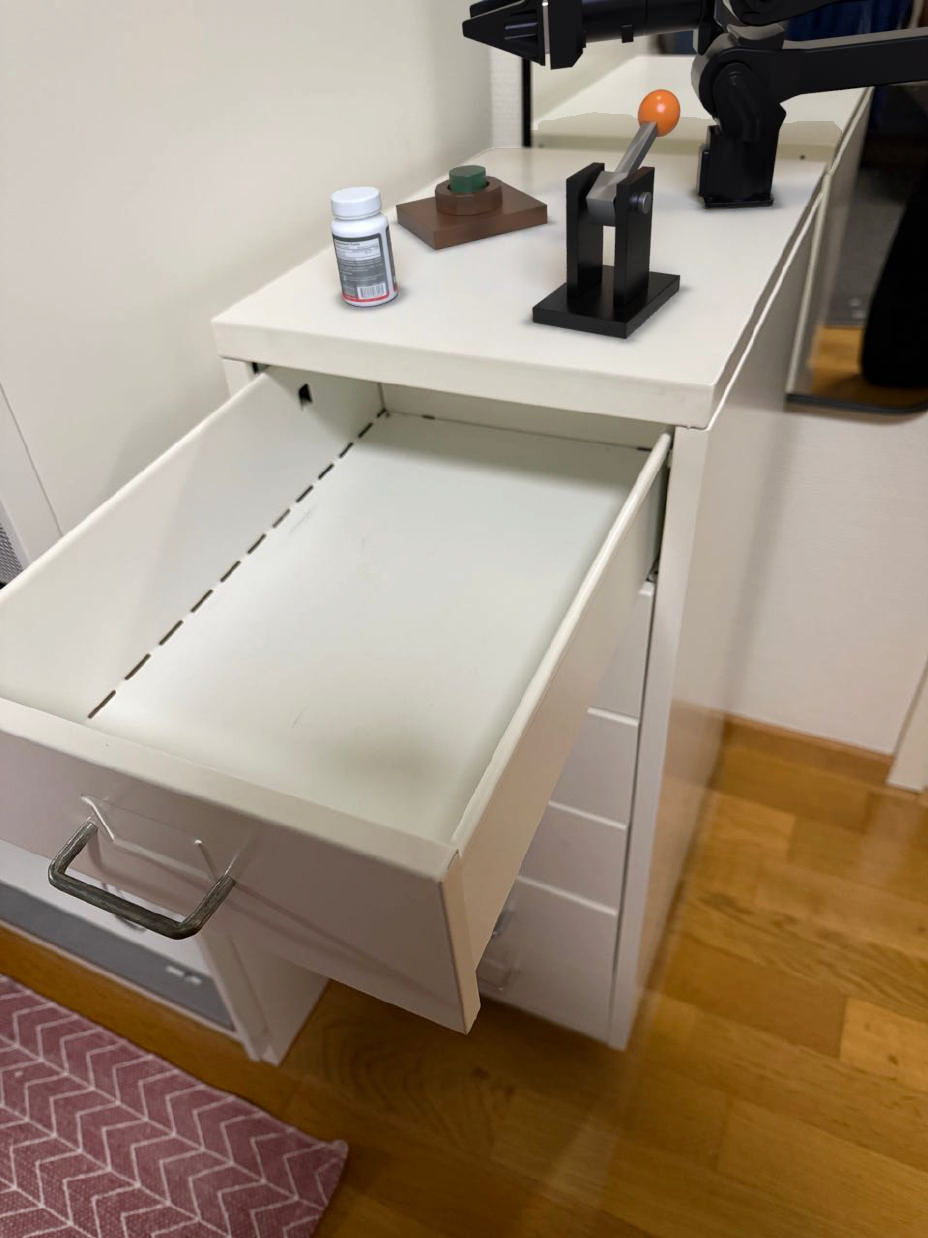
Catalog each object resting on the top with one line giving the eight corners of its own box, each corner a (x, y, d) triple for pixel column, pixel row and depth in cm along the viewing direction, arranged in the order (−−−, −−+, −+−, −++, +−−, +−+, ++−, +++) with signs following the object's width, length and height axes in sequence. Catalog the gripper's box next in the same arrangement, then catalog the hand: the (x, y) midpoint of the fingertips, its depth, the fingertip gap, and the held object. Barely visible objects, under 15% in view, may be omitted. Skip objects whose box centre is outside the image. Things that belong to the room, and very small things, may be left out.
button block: (502, 197, 93) (500, 161, 91) (547, 222, 86) (547, 184, 83) (397, 222, 90) (393, 185, 87) (435, 249, 83) (431, 210, 80)
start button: (477, 181, 87) (476, 162, 86) (493, 189, 85) (492, 170, 84) (444, 188, 87) (442, 169, 85) (459, 197, 84) (457, 177, 83)
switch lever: (650, 116, 69) (645, 78, 67) (688, 118, 68) (685, 79, 65) (586, 228, 66) (578, 192, 64) (625, 232, 65) (618, 196, 62)
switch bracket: (590, 276, 75) (592, 150, 68) (679, 289, 71) (690, 157, 65) (532, 322, 69) (527, 188, 62) (625, 339, 65) (631, 198, 59)
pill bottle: (364, 283, 78) (348, 181, 72) (408, 289, 76) (395, 186, 70) (332, 303, 75) (313, 199, 69) (377, 311, 73) (361, 204, 67)
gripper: (636, -128, 78) (463, -102, 80) (655, -119, 64) (444, -88, 66) (635, 21, 85) (476, 41, 87) (651, 58, 71) (462, 81, 74)
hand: (466, 20), depth 78 cm, fingers open, 9 cm apart
